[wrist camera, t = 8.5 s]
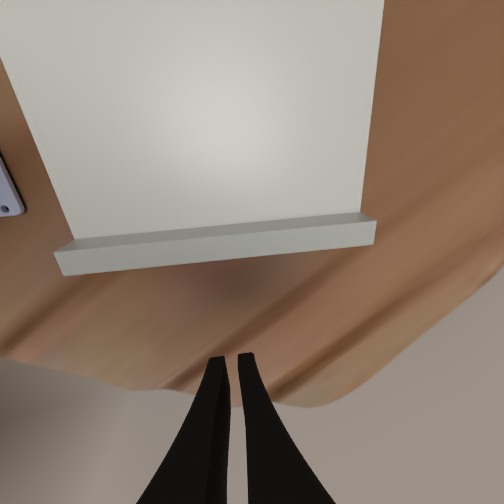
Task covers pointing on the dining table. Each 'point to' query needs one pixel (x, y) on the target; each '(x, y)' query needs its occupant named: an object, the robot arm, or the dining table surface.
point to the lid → (197, 124)
